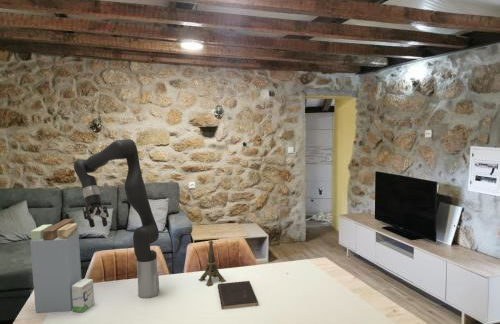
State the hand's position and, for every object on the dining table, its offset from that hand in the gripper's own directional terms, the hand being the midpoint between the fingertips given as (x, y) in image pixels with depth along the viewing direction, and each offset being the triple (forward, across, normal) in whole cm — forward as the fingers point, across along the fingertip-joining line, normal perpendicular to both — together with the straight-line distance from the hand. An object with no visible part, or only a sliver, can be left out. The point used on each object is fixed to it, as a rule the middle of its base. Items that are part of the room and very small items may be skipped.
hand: (99, 226), depth 184 cm
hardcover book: (+53, +17, -52) cm, 77 cm away
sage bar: (0, -25, +10) cm, 26 cm away
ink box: (+35, -15, +5) cm, 38 cm away
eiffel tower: (+43, +29, -36) cm, 63 cm away
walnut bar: (0, -18, +6) cm, 19 cm away
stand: (+30, -16, +17) cm, 38 cm away
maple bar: (+3, -20, 0) cm, 20 cm away
